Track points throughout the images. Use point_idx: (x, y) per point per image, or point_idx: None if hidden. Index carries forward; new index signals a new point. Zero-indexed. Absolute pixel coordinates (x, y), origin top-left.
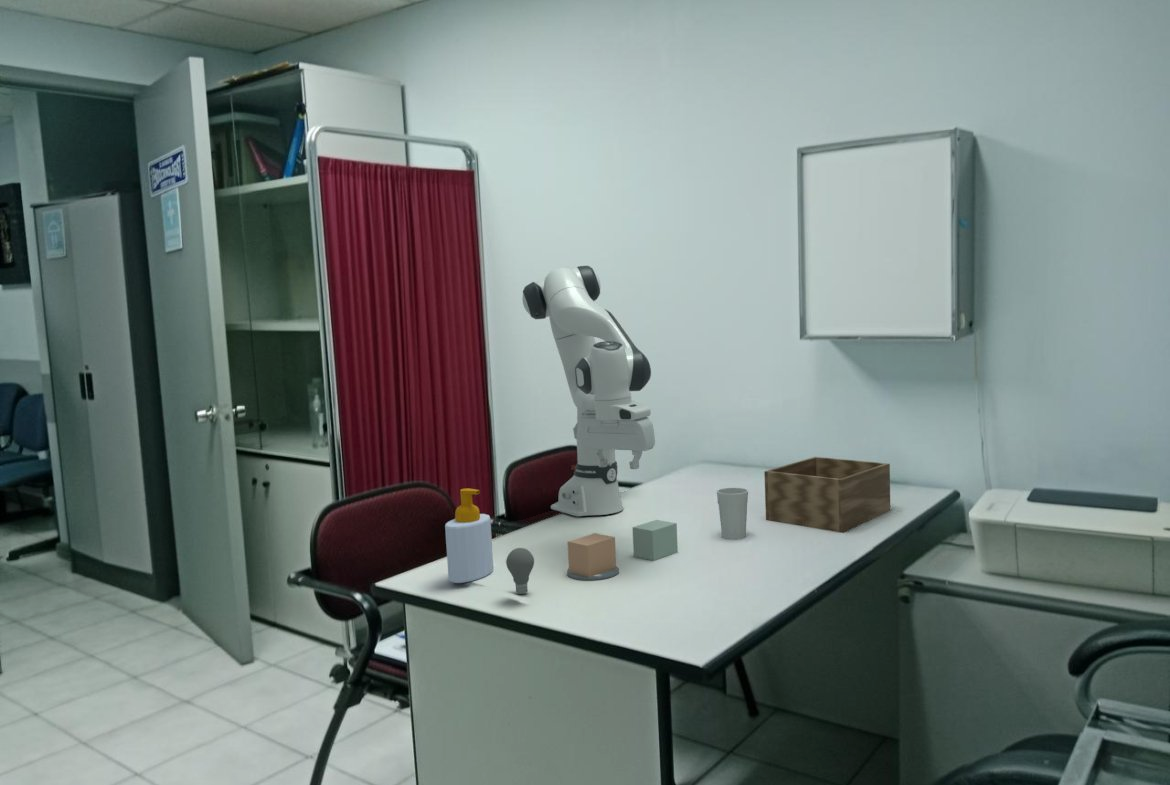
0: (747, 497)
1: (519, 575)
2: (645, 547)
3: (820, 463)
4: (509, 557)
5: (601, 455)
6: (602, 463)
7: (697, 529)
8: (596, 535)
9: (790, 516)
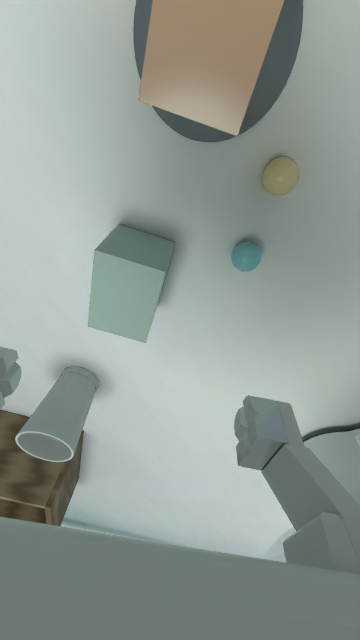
0: (26, 435)
1: None
2: (134, 240)
3: None
4: None
5: (290, 498)
6: (260, 416)
7: (149, 400)
8: (218, 100)
9: None
